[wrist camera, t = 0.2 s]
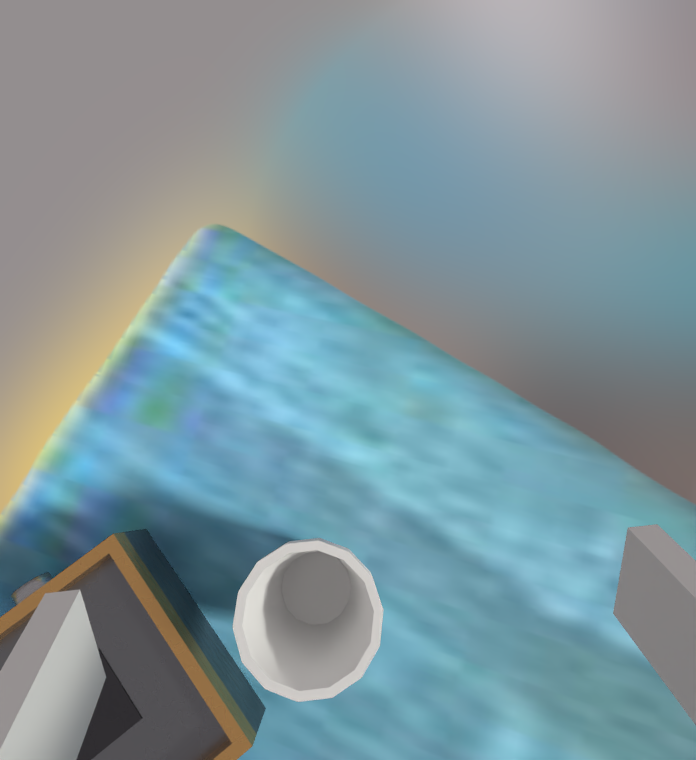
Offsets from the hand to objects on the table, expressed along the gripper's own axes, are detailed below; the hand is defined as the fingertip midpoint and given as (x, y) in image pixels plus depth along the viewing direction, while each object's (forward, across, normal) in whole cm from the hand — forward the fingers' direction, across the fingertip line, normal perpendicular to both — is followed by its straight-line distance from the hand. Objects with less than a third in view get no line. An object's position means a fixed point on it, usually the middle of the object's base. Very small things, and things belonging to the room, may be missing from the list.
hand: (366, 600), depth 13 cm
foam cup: (+27, +2, +24) cm, 36 cm away
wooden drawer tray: (+24, +19, +29) cm, 42 cm away
